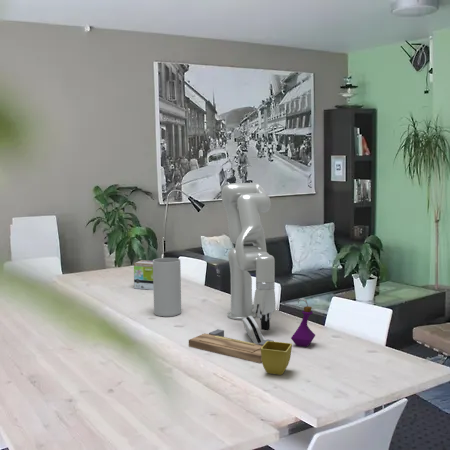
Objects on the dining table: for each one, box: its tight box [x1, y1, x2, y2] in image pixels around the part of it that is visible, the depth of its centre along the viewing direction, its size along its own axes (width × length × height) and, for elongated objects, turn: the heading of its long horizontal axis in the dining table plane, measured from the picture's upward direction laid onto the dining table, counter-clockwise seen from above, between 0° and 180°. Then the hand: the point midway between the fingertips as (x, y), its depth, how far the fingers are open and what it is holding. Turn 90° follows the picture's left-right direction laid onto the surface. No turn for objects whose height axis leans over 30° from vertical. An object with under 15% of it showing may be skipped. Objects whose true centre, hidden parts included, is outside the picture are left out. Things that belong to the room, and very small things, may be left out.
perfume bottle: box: [290, 297, 316, 348], centre depth 217 cm, size 8×8×18 cm
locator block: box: [208, 329, 225, 337], centre depth 226 cm, size 6×3×3 cm, turn 144°
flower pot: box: [261, 340, 293, 376], centre depth 190 cm, size 9×9×9 cm
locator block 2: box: [258, 339, 275, 346], centre depth 212 cm, size 6×3×3 cm, turn 144°
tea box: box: [133, 259, 154, 291], centre depth 317 cm, size 15×10×15 cm, turn 73°
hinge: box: [241, 316, 267, 345], centre depth 225 cm, size 17×5×10 cm, turn 10°
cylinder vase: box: [152, 257, 182, 318], centre depth 263 cm, size 12×12×25 cm
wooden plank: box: [188, 333, 262, 364], centre depth 212 cm, size 10×32×3 cm, turn 54°
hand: (265, 329), depth 233 cm, fingers closed
